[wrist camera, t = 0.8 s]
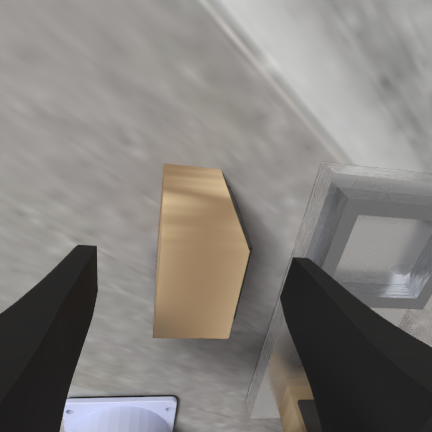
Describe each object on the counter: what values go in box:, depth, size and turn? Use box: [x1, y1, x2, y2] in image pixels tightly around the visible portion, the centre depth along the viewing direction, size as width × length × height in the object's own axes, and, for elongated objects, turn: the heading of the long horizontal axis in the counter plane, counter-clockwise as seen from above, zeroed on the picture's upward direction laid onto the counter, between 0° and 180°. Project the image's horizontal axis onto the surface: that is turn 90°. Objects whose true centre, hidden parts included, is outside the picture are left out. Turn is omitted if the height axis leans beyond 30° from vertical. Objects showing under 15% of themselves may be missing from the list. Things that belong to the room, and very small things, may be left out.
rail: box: [246, 162, 432, 419], centre depth 21 cm, size 20×8×3 cm, turn 171°
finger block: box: [153, 164, 252, 339], centre depth 14 cm, size 3×4×7 cm
